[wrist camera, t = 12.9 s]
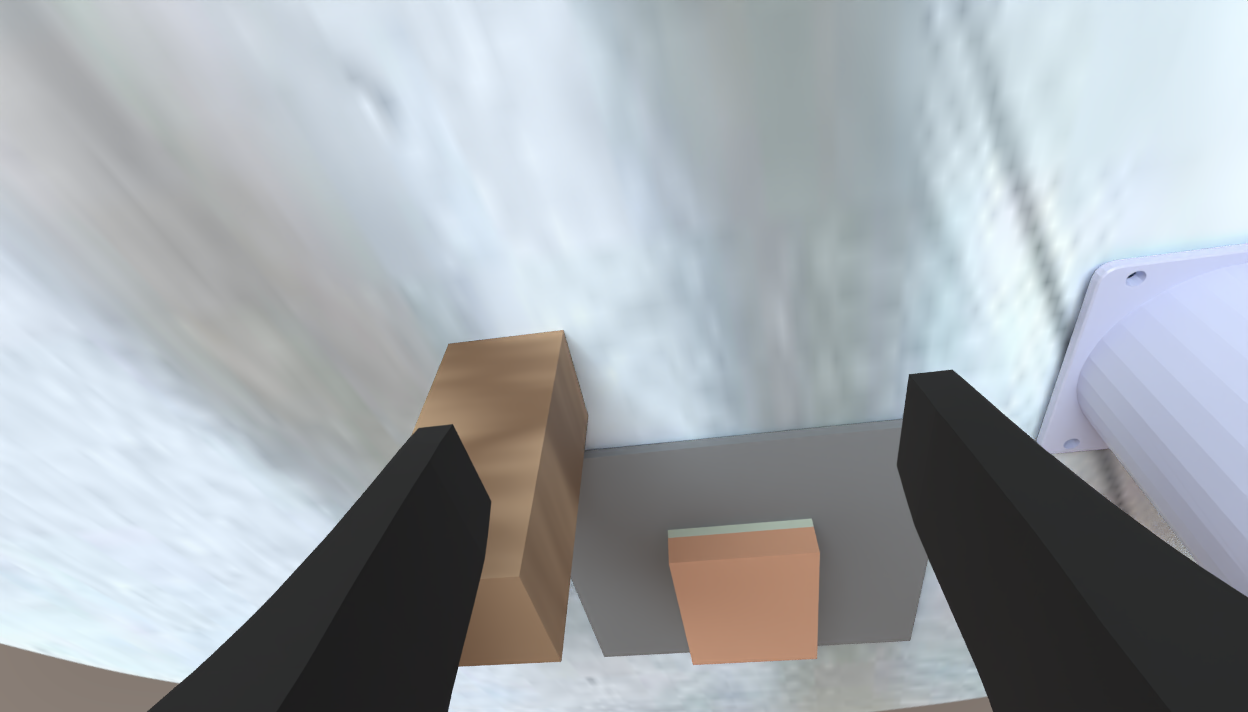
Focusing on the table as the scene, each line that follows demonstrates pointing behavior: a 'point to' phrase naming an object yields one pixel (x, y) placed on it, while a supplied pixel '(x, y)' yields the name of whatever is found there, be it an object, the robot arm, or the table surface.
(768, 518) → the rubber mat
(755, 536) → the flat slab
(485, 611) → the wooden block
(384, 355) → the table surface
